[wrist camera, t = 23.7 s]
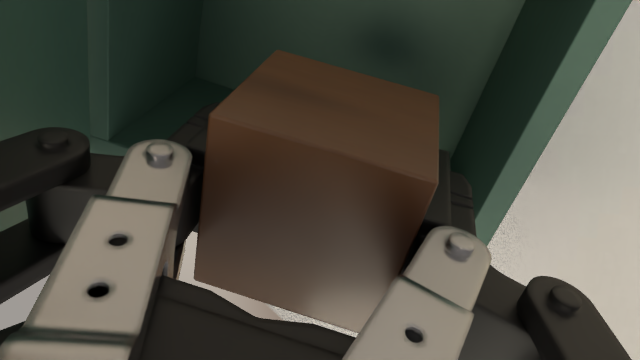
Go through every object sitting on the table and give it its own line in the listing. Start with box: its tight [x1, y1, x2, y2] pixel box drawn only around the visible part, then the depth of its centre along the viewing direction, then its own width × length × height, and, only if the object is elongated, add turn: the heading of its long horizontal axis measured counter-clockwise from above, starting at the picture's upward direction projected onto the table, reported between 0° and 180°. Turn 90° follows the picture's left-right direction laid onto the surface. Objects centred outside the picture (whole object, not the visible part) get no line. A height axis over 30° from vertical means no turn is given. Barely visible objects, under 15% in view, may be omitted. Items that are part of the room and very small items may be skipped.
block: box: [194, 50, 439, 333], centre depth 12 cm, size 4×4×4 cm
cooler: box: [87, 0, 632, 246], centre depth 22 cm, size 18×14×10 cm
